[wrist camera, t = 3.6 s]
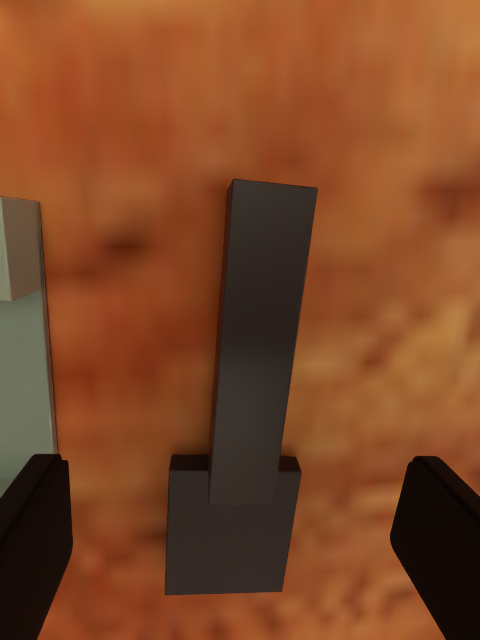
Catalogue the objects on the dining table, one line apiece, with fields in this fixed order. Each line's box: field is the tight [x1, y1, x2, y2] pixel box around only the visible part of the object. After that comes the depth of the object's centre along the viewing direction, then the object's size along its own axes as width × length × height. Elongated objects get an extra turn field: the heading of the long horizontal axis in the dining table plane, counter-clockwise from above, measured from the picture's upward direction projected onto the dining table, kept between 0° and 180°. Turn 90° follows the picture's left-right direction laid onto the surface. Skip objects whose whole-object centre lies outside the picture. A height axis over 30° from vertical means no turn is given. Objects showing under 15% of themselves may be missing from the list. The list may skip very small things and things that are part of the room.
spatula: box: [165, 179, 318, 595], centre depth 13 cm, size 18×6×3 cm, turn 175°
